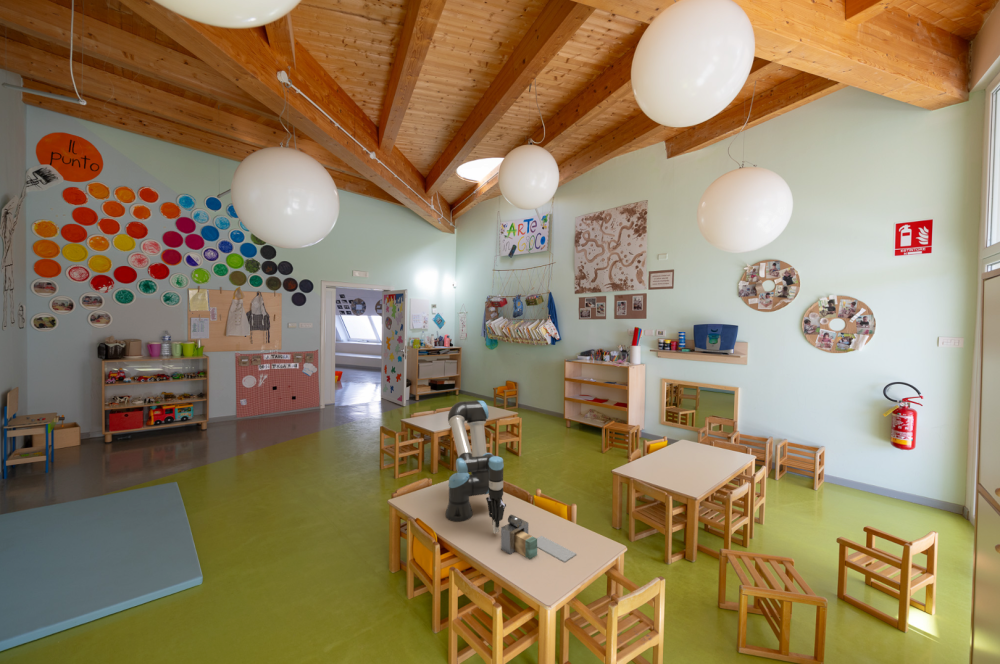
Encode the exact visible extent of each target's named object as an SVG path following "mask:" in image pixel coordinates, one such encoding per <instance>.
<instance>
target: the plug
mask: <svg viewBox="0 0 1000 664" xmlns="http://www.w3.org/2000/svg"><path fill="white" fill-rule="evenodd" d="M537 538H538V537H535V536H532V535H530V534H529V533H528V534H527V533H525V532H523V531H521V530H519V531H517V532H515V533H514V552H516V553H518V554H520V555H521V556H523V557H525V558H527V559H529V560H532V559H533V558H535V557H536V556H538V548H537Z"/></svg>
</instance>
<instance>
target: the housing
mask: <svg viewBox="0 0 1000 664" xmlns="http://www.w3.org/2000/svg"><path fill="white" fill-rule="evenodd" d="M507 522H508V523H507V524H506V525H503V526H501V528H500V540H501V541H500V549H501V550H502V551H503V552H505V553H506V554H508V555H511V554H512V555H513V554H514V553H515V551H514V533H515V532H517V531H519V530H521V531H523V532H525V533H527V534H529V522H528V521H525V520H524V519H522V518H521V517H520V518H519V517H517V516H516V515H514V514H510V515H508V518H507Z"/></svg>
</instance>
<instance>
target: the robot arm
mask: <svg viewBox="0 0 1000 664" xmlns="http://www.w3.org/2000/svg"><path fill="white" fill-rule="evenodd" d="M447 415H448V416H447V422H448V425H449V427H451V431H452V435H453V440H454V445H455V448H456V453H457V457H458V458H457V459H456V460H455V468H456V472H455V473H453V474H452V475H451V476H449V479H448V504H447V508H446V511H445V517H446V519H448V520H450V521H453V522H464V521H467V520H469V519H470V518H472V516H473V508H472V505H471V503H470V497H474V496H483V495H488V496H487V497H486V498H485V500H486V503H487V508H488V516H489V518H491V520H492V521H491V524H492V533H493V534H497V533H499V532H500V530H499V529H500V528H499V527H500V521H502V520H503V519H504V513H505V508H506V507H507V504H506V503H504V501H503V497H504V466H505V465H504V459H503V457H500V456H498V455H494V454H493V453H491V452H488V451H487V440H486V432H485V425H486V423H487V420H488V419H489V417H490V415H489V408H488V404H487V403H486V402H485V401H484V400H468V401H466V400H465V401H459V402H457V403H455V404H453V406H452V407H451V408H450V410H449V411H448V414H447ZM465 422H466V424H467V426H469V431H470V432H469V433H470V442H471V444H470V442H469V437H468V434H467V430H466V426H465ZM469 473H471V474H469Z"/></svg>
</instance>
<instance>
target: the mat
mask: <svg viewBox="0 0 1000 664" xmlns="http://www.w3.org/2000/svg"><path fill="white" fill-rule="evenodd" d="M536 538H537V549H539V550H541V551H542V552H545V553H546V554H548V555H550V556H552V557H553V558H556V559H557V560H559V561H561V562H563V563H566V562H568V561H570V560H571V559H573V558H574V557H575V556H577V555H578V554H577V553H576V552H575V551H572V550H570V549H569V548H566V547H564V546H563V545H561V544H558V543H556V542H554V541H553V540H551V539H549V538H547V537H545V536H543V535H540V536H539V537H536Z"/></svg>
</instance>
